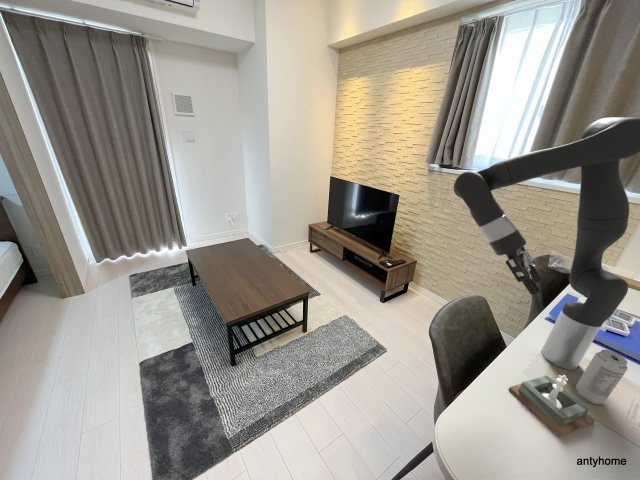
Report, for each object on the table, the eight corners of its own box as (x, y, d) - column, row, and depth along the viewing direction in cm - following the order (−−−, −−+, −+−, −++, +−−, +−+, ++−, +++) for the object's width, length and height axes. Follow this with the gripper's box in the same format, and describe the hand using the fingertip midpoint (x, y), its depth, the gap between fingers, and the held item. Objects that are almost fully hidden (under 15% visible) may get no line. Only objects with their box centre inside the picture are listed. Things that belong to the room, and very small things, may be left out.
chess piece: (538, 390, 73) (552, 364, 69) (560, 401, 70) (576, 375, 66) (537, 402, 69) (552, 375, 65) (561, 415, 66) (578, 387, 63)
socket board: (540, 379, 77) (545, 370, 76) (593, 422, 66) (600, 412, 64) (508, 389, 74) (513, 379, 72) (559, 436, 62) (566, 426, 61)
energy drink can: (598, 393, 74) (624, 354, 69) (606, 410, 70) (635, 369, 64) (571, 383, 77) (594, 344, 72) (577, 398, 72) (603, 358, 67)
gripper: (512, 233, 63) (553, 293, 60) (520, 223, 73) (555, 273, 70) (481, 246, 68) (518, 301, 66) (492, 235, 78) (525, 282, 75)
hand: (537, 287), depth 68 cm, fingers open, 8 cm apart
